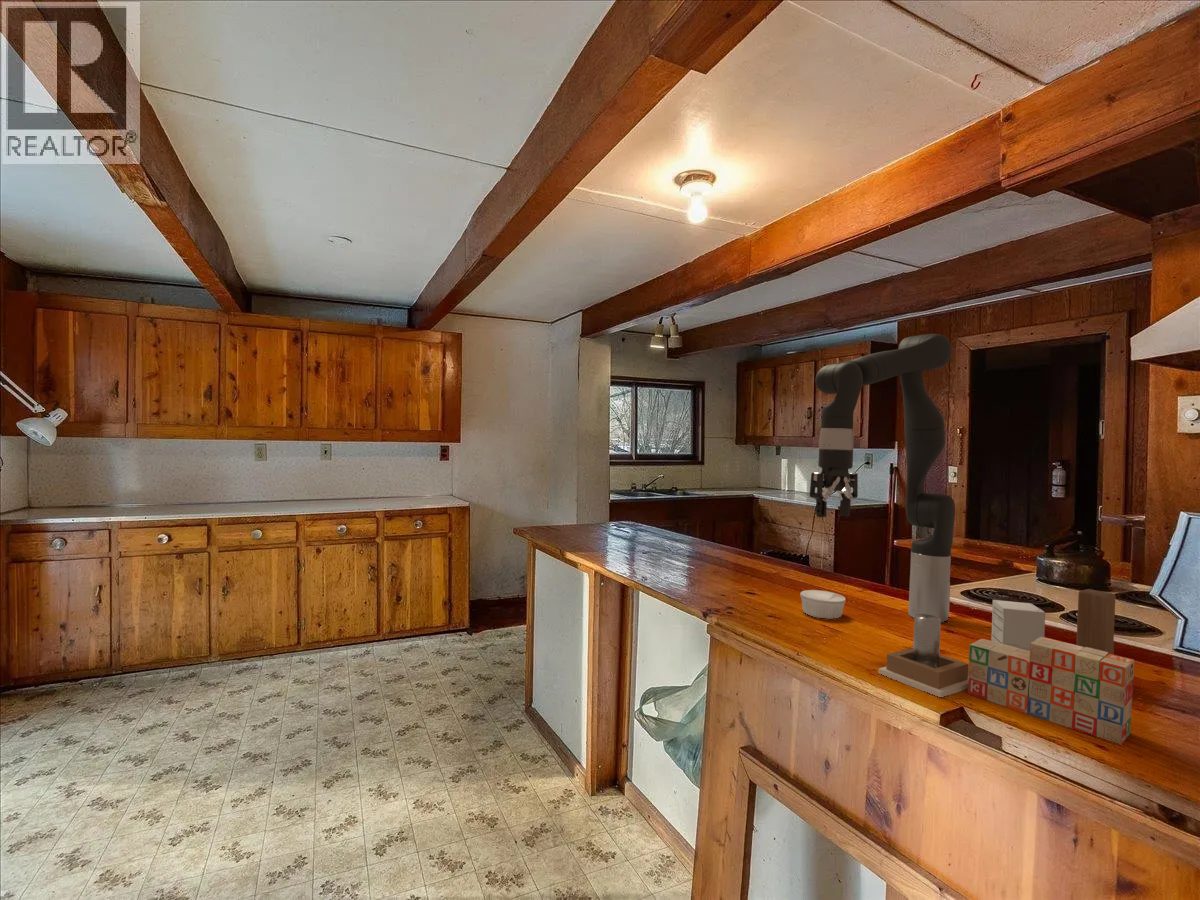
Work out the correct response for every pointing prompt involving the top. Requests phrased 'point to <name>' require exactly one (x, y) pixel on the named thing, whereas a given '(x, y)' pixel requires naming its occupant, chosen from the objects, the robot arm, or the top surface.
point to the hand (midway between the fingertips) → (833, 516)
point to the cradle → (927, 673)
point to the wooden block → (1096, 620)
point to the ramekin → (822, 603)
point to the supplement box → (1017, 623)
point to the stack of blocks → (1057, 684)
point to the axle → (926, 640)
